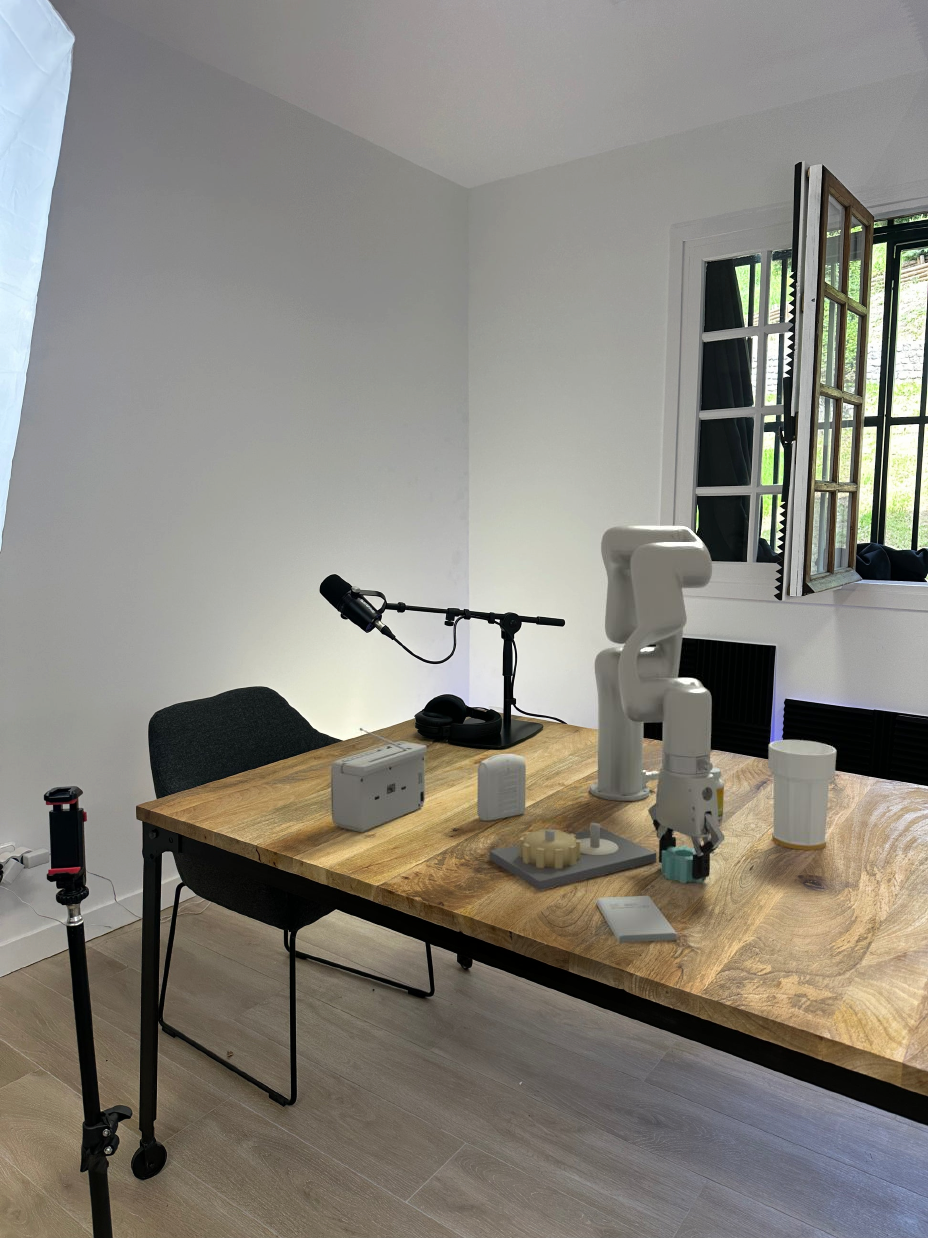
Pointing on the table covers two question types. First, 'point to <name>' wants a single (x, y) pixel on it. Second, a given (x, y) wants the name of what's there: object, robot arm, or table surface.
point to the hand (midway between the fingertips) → (683, 868)
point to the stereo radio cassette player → (378, 785)
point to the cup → (801, 792)
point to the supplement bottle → (718, 790)
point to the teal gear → (678, 863)
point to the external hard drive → (635, 919)
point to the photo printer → (501, 787)
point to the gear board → (569, 856)
